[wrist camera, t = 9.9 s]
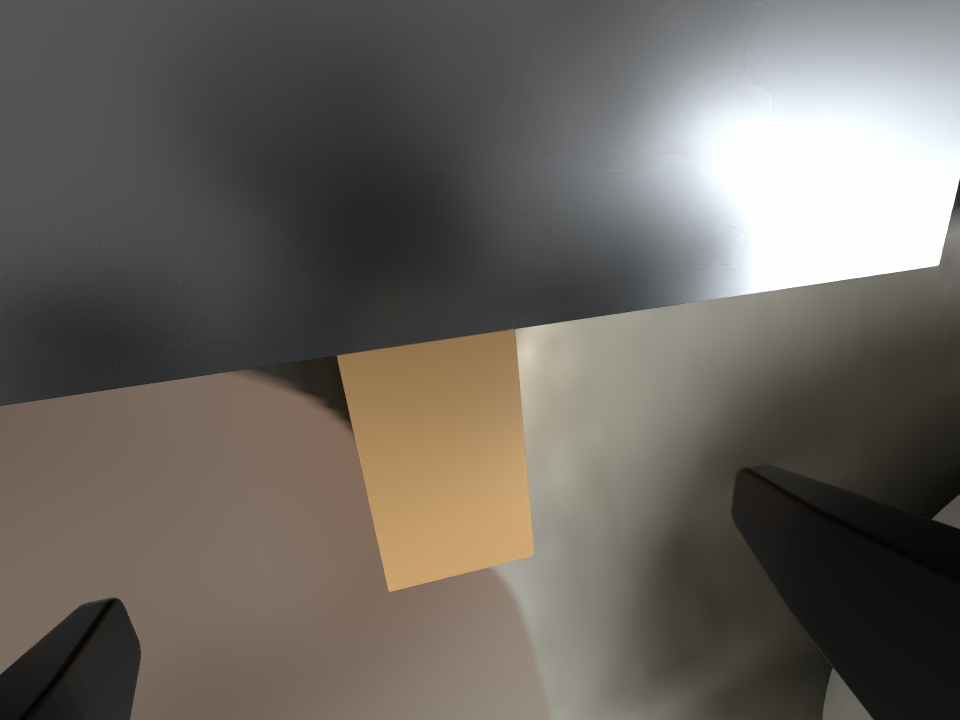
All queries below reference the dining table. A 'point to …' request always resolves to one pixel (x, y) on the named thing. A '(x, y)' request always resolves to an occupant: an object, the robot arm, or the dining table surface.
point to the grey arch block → (444, 169)
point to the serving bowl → (841, 705)
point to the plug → (442, 454)
